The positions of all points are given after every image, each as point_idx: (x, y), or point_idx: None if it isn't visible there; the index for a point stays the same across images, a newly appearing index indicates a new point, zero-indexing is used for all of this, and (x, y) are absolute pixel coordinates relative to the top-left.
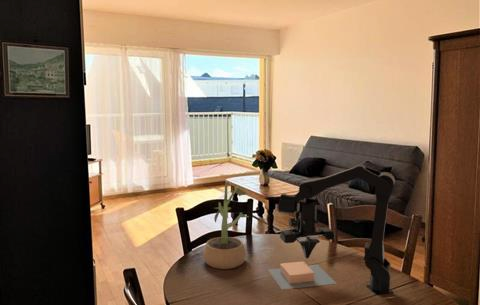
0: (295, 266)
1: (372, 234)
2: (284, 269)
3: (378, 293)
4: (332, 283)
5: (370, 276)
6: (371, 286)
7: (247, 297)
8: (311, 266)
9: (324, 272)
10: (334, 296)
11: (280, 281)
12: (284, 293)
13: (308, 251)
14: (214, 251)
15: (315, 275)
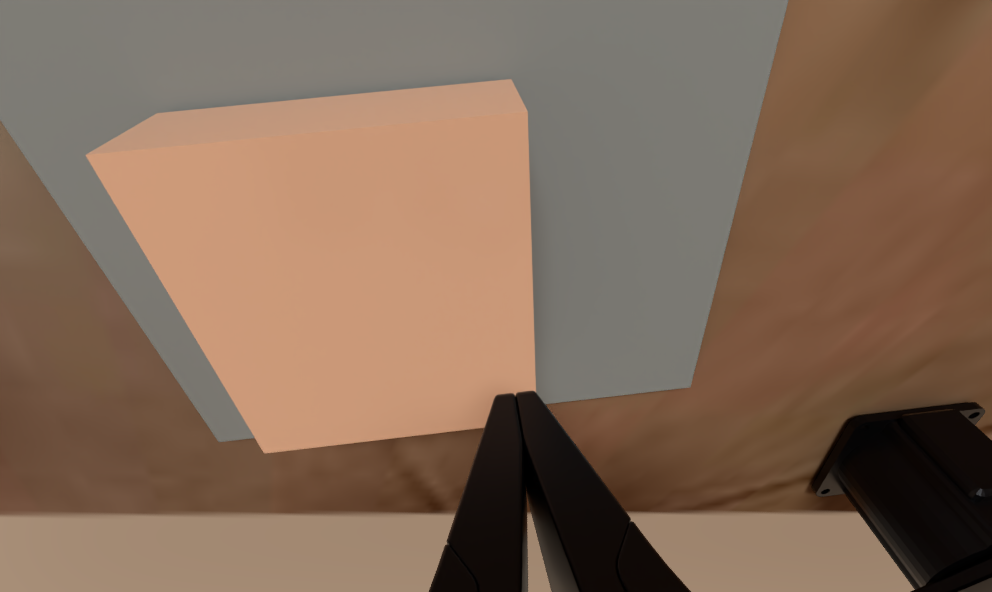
0: (352, 278)
1: None
2: (191, 315)
3: (833, 492)
4: (656, 385)
5: (949, 467)
6: (856, 473)
7: None
8: None
9: (727, 193)
10: None
11: (193, 337)
12: (245, 459)
13: (548, 561)
14: None
15: (591, 250)
